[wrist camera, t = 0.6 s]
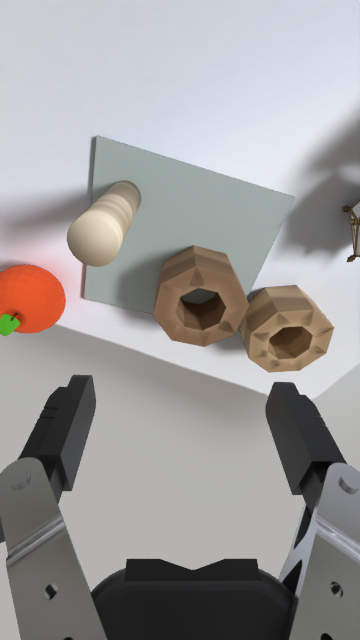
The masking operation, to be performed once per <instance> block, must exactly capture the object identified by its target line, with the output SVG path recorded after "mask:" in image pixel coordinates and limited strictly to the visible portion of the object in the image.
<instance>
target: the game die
mask: <svg viewBox="0 0 360 640" xmlns="http://www.w3.org/2000/svg"><path fill="white" fill-rule="evenodd" d="M342 209H343V210H344V212H345V211H346V212H350V218H351V220H350V221H349V223H350V224H351V228H352V239H353V250H354V254H353V255H352V256H350V257H348V260H347V262H353V260H355V258H356V257H360V201H359V202H358V203H356V204H355V205H354V206H353V207H352V208H351V207H350V206H349V207H348V206H345V207H343V208H342Z"/></svg>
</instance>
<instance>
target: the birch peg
mask: <svg viewBox="0 0 360 640" xmlns="http://www.w3.org/2000/svg"><path fill="white" fill-rule="evenodd" d="M140 204H141V193H140V191H139V189H138V187H137V186H136V185H135V184H134V183H132V182H130V181H127V180H122V181H118V182H117V183H115V184H114V185H113V186H112V187H111V188H110V189H109V190H108V191H107V192H106V193H105V194H103V195H102V196H101V197H100V198H99V199H98V200H97V201H96V202H95V203H94V204H93V205H92V206H91V207H90V208H88V209H87V210H86V211H85V212H84V213H83V214H82V215H81V216H80V217H79V218H78V219H77V220H76V221H74V222H73V223H72V225H71V226H70V227H69V230H68V233H67V243H68V246H69V249H70V250H71V252H72V254H73V255H74V256H75V257H76V258H77V259H78V260H79V261H81V262H82V263H84V264H86V265H89V266H93V267H101V266H105V265H108V264H109V263H111V262H112V261H113V260H114V259H115V258H116V256H117V254H118V252H119V249H120V247H121V245H122V243H123V241H124V239H125V236H126V234H127V232H128V230H129V228H130V226H131V224H132V221H133V219H134V217H135V215H136V213H137V211H138V208H139V206H140Z"/></svg>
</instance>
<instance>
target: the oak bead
mask: <svg viewBox="0 0 360 640" xmlns="http://www.w3.org/2000/svg"><path fill="white" fill-rule="evenodd" d="M248 303H249V307H248V309H247V311H246V313H245V315H244V317H243V319H242V321H241V326H240V332H241V335H242V338H243V342H244V345H245V348H246V351H247V354H248V358H249V359H250V360H252V361H253V362H255V363H256V364H258V365H259V366H260V367H262V368H263V369H265V370H266V371H268V372H284V371H299V370H301V369H303V368H304V367H306V366H307V365H309V364H310V363H312V362H313V361H315V360H316V359H318V358H320V357H321V356H323V355H324V354H326V353H327V349H328V346H329V343H330V340H331V336H332V333H333V330H334V327H333V326H332V324H331V323H330V322H329V320H328V319H327V318H326V317H325V315H324V314H323V313H322V311H321V310H320V309H319V308H318V306H317V305H316V304H315V303H314V302H313V301H312V300H311V299H310V298H309V297H308V296H307V295H306V294H305V293H304V292H303V291H302V290H301V289H300V288H299V287H298V286H297V285H293V286H280V287H267V288H264V289H263V290H262V291H260V292H259V293H258V294H257V295H256V296H255V297H253V298H252V299H251V300H250V301H249V302H248ZM284 327H286V328H285V329H284V330H282V331H280V330H281V329H282V328H284ZM278 331H279V332H278Z"/></svg>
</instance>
